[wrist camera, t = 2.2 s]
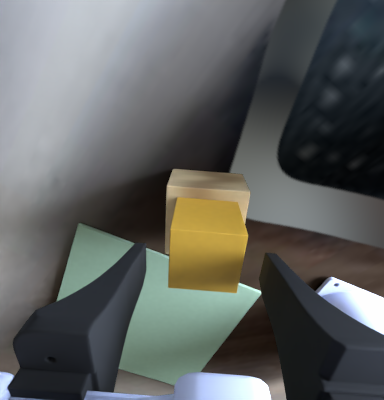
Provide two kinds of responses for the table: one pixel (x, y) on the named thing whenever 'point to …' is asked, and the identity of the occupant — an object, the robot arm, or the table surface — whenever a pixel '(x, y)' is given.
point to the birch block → (204, 191)
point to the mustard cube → (206, 245)
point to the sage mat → (159, 309)
